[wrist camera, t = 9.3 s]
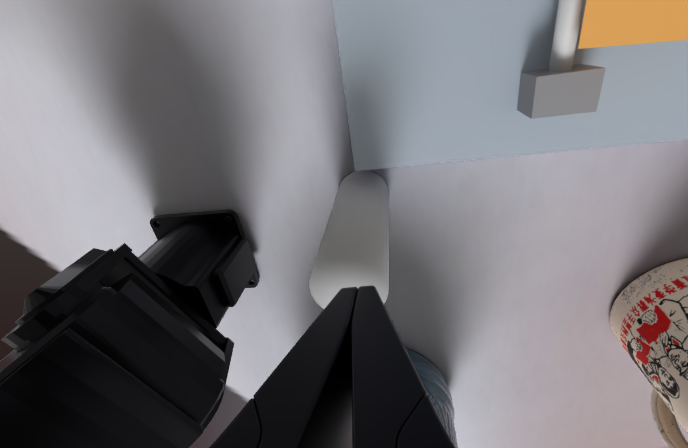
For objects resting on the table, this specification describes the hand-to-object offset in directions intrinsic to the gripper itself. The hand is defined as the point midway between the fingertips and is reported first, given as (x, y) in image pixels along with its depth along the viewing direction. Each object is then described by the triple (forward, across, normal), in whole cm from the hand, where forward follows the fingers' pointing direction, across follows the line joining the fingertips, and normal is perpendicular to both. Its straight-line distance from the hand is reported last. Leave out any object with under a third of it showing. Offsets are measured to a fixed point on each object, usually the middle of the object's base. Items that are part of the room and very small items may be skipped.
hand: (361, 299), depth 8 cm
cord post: (+13, +1, +3) cm, 13 cm away
